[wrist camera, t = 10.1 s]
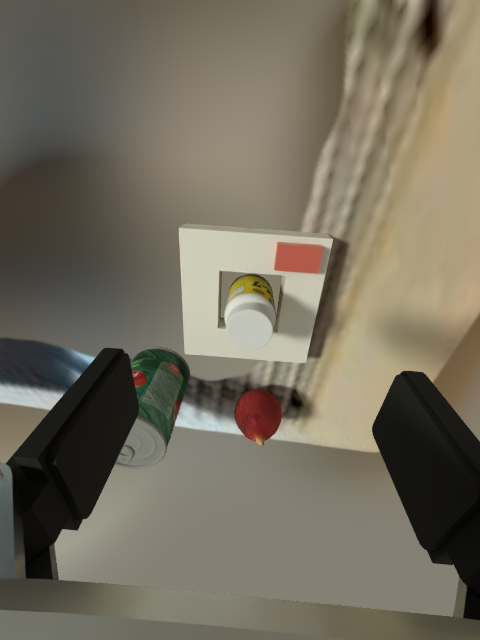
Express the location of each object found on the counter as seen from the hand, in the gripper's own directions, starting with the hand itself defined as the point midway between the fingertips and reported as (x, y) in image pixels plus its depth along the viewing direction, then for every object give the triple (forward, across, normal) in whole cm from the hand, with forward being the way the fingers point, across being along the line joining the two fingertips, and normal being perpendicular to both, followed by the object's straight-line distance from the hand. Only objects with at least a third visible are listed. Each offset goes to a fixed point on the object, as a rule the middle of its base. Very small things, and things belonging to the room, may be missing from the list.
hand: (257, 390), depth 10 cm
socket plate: (+20, 0, +5) cm, 21 cm away
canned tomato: (+20, +11, +17) cm, 29 cm away
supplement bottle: (+20, 0, +5) cm, 21 cm away
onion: (+20, -2, +20) cm, 28 cm away
